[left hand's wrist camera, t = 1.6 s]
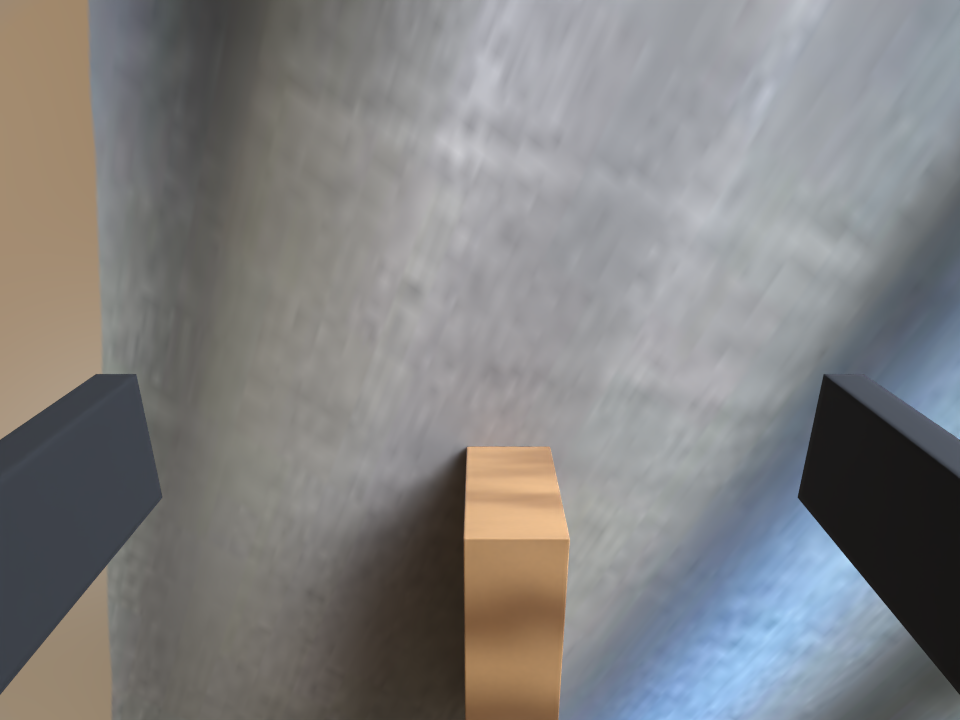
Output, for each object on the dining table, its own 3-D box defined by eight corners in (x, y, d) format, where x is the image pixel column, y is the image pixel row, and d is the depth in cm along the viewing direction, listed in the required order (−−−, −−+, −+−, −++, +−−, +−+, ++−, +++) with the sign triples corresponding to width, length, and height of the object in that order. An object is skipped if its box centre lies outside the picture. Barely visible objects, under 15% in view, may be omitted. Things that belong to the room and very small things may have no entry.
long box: (466, 446, 46) (463, 538, 36) (550, 446, 46) (570, 538, 36) (468, 709, 55) (466, 841, 45) (537, 709, 55) (550, 841, 45)
